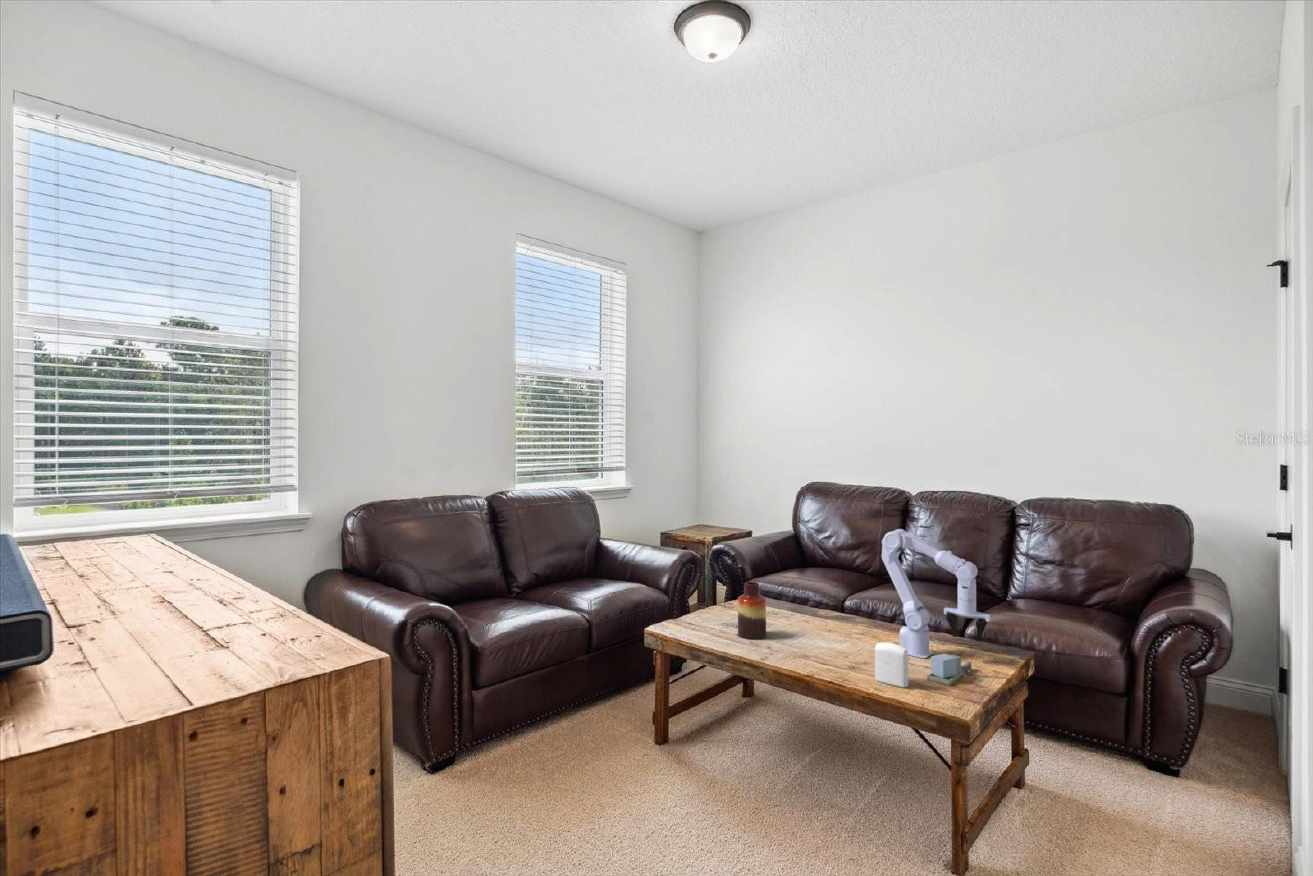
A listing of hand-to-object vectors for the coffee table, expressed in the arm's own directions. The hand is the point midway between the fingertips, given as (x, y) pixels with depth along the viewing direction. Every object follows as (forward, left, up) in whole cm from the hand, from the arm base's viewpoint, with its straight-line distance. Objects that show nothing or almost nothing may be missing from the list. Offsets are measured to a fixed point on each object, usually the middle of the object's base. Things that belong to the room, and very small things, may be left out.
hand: (966, 638), depth 223 cm
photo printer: (-12, -34, -9) cm, 37 cm away
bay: (-1, -8, -8) cm, 12 cm away
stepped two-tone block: (0, -19, -7) cm, 20 cm away
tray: (-1, -19, -8) cm, 21 cm away
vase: (-72, -22, -9) cm, 76 cm away
